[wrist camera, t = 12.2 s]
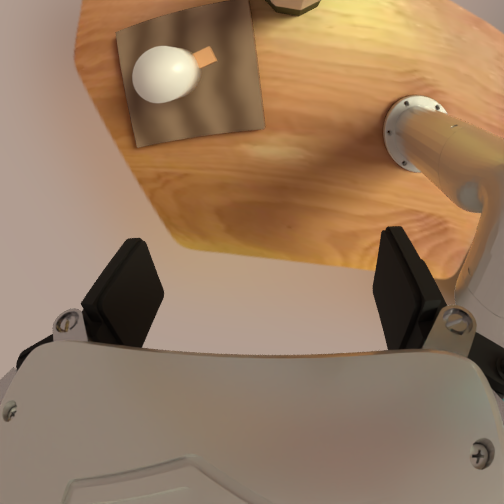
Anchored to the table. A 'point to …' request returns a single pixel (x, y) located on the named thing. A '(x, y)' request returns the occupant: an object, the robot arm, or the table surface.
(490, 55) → the table surface
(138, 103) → the post board
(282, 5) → the wine bottle
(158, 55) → the light bulb
